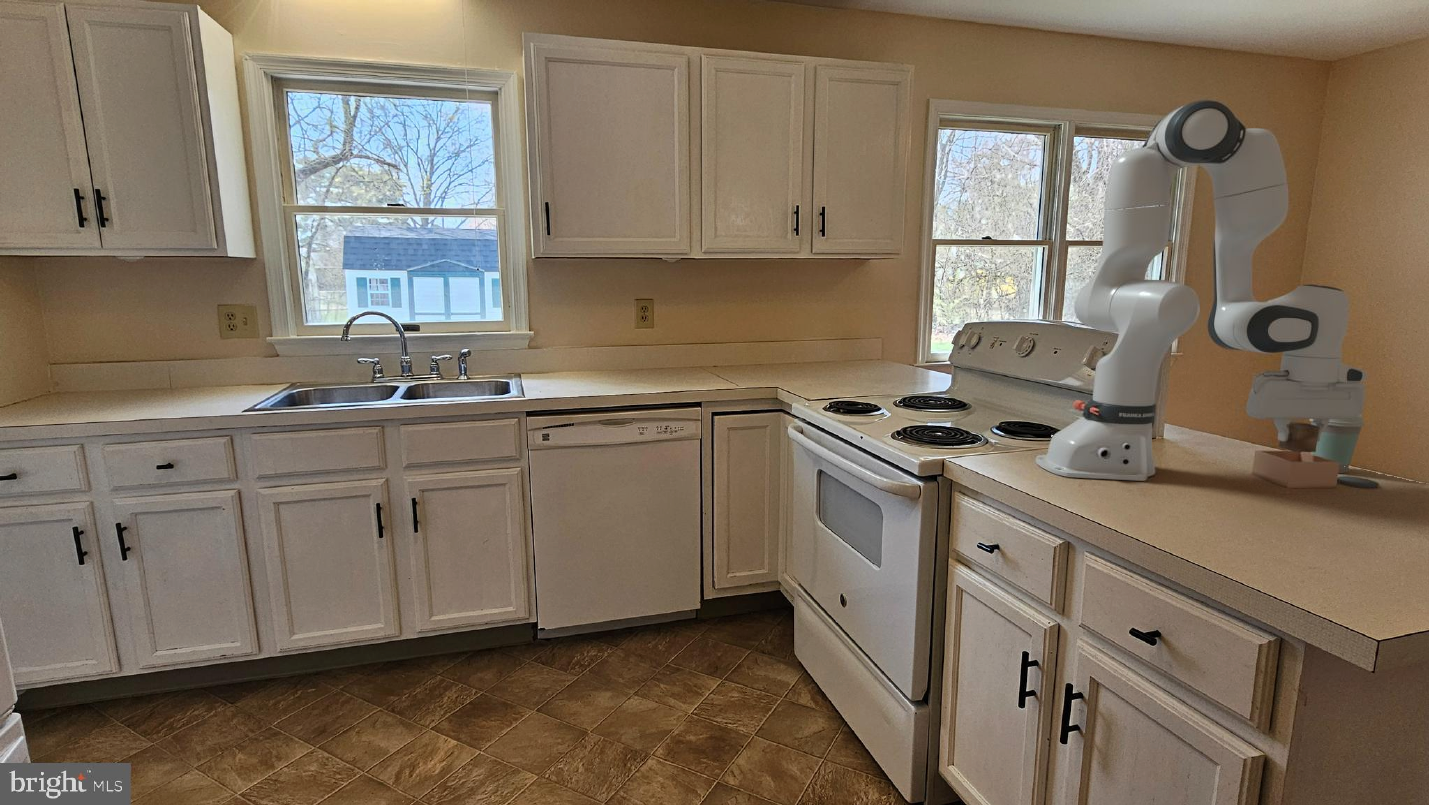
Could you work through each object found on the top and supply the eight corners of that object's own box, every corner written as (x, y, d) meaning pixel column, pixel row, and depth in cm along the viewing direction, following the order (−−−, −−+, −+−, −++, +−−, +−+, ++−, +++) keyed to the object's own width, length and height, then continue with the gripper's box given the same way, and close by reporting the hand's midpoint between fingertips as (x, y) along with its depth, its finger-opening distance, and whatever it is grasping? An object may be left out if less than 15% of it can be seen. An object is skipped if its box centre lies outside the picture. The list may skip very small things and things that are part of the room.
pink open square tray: (1287, 487, 136) (1291, 462, 135) (1251, 474, 145) (1255, 450, 144) (1335, 487, 136) (1339, 462, 135) (1296, 474, 145) (1300, 450, 144)
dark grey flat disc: (1357, 490, 136) (1357, 485, 136) (1327, 481, 142) (1328, 476, 142) (1386, 489, 136) (1387, 484, 136) (1356, 480, 142) (1356, 475, 142)
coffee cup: (1335, 464, 153) (1344, 409, 150) (1366, 476, 144) (1377, 417, 142) (1292, 463, 153) (1300, 408, 151) (1321, 474, 145) (1330, 416, 143)
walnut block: (1294, 451, 138) (1298, 426, 137) (1278, 446, 142) (1282, 422, 141) (1315, 451, 138) (1319, 426, 137) (1298, 446, 142) (1302, 422, 141)
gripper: (1268, 372, 134) (1257, 444, 136) (1376, 373, 134) (1364, 444, 136) (1243, 368, 140) (1233, 437, 142) (1347, 368, 140) (1335, 437, 142)
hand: (1298, 440), depth 139 cm, fingers closed on walnut block, 4 cm apart
